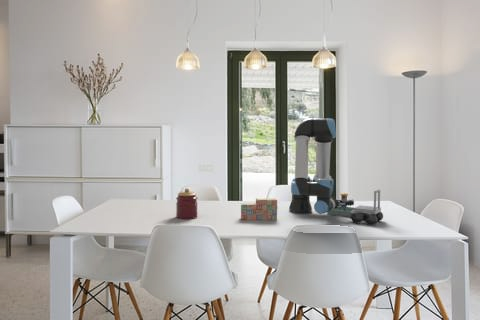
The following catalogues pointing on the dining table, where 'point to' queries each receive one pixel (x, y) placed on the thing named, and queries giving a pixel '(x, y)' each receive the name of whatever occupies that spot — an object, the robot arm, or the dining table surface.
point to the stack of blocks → (259, 209)
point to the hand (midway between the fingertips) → (341, 199)
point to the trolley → (368, 212)
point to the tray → (341, 211)
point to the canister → (186, 205)
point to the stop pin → (344, 198)
